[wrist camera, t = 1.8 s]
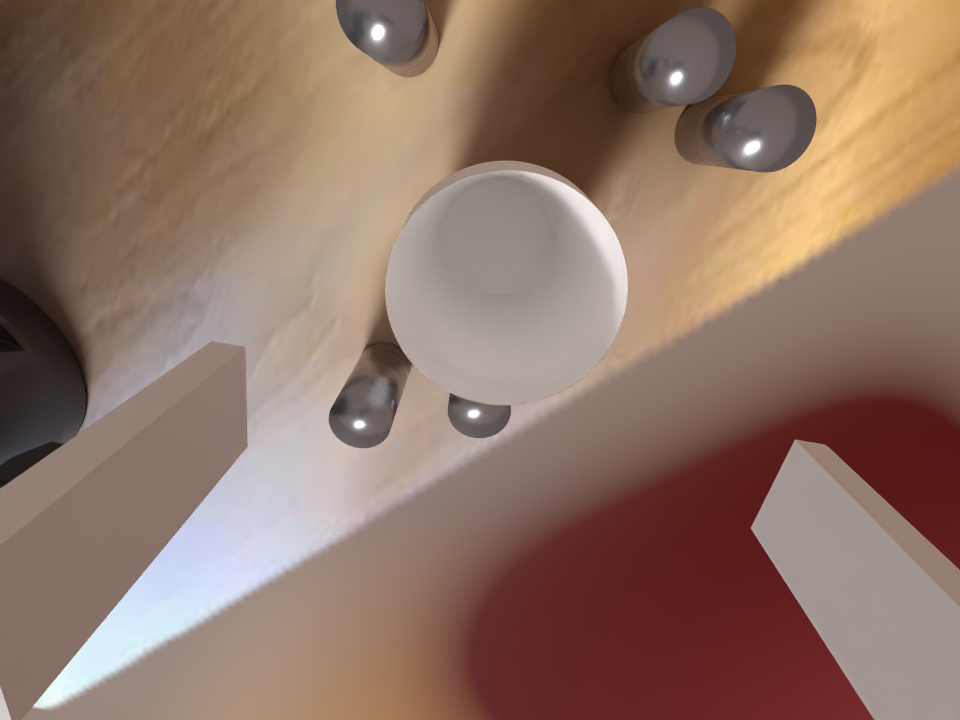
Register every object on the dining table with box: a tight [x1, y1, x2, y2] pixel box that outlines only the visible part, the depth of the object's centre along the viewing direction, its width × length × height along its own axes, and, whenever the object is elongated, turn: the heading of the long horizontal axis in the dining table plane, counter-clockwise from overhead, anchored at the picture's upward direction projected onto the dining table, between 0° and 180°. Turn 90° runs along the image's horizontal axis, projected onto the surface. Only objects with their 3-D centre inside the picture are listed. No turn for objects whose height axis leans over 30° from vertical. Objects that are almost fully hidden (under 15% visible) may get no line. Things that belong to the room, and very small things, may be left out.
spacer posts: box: [329, 0, 816, 448], centre depth 26 cm, size 19×21×7 cm
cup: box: [385, 161, 628, 405], centre depth 23 cm, size 9×9×12 cm
